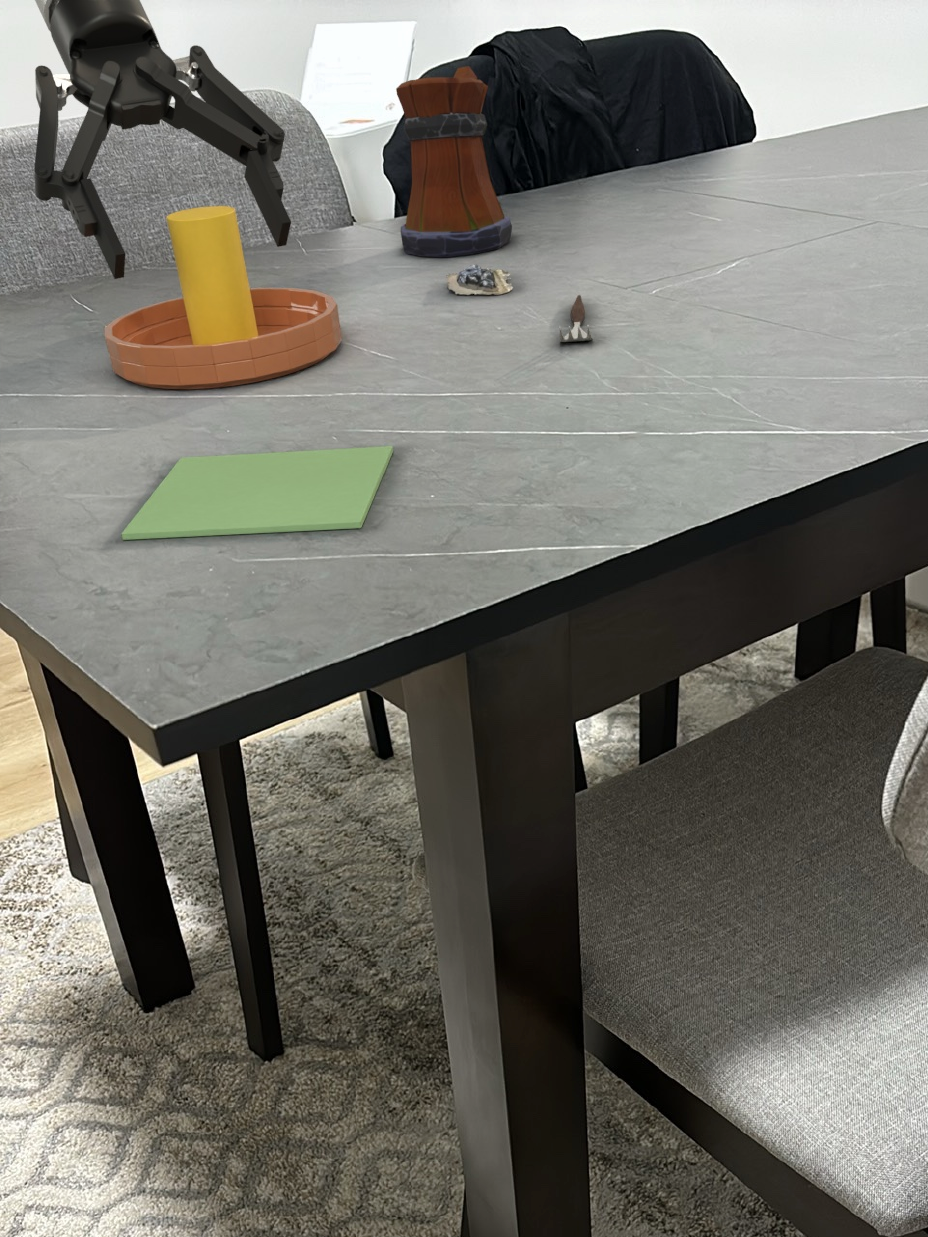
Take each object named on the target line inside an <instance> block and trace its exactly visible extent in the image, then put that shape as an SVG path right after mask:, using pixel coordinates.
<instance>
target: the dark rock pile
mask: <svg viewBox="0 0 928 1237" xmlns="http://www.w3.org/2000/svg"><path fill="white" fill-rule="evenodd" d="M510 275H511V273H509V271H505V270H503V269H491V268H488V267H486V268H482V267H481V266H480V265H478V264H477V263H476V264H470V265H469V266H466V267H464V268H463V269H462V270H461V271H459V272H458V273H457V272H455V273H452V274H451V273H448V275H447V274H446V275H445V277H446V279H445V281H446V282H447V283H446V285H447V288H448V289H449V290H451V291H452V292H454V294H455V295H467V296H470V295H473V294H474V295H486V296H487V295H488V296H489V295H493V296H499V295H503V294H506V293H509V292H511V291H512V290H513V289H514V287H513V286H512V283H511V282H509V283H508V282H507V281H508V280H510V279H512V277H509V276H510Z"/></svg>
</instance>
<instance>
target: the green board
mask: <svg viewBox="0 0 928 1237" xmlns="http://www.w3.org/2000/svg"><path fill="white" fill-rule="evenodd" d="M393 453H394V448H393V446H392V445H386V446H367V447H350V448H335V449H334V448H331V449H314V450H295V451H294V450H293V451H278V452H259V453H257V452H256V453H242V454H241V453H240V454H224V455H206V456H205V455H204V456H187V457H186V456H185V457H180V458H179V460H177V462H176V463H175V465H174V466H173V467H172V468H171V469H170V471H169V472H168V473H167V475H166V476H165V478H163V480H162V481H161V482H160V484H159V485H158V486H157V487H156V488H155V490H154V491H153V492H152V494H151V495H150V496H149V498H148V499H147V500H146V501H145V503H143V505H142V506H141V507H140V509H139V511H137V513H136V514H135V515H134V517H133V518H132V519H131V521H130V522H129V523H128V525H126V527H125V528H124V530H123V531H122V532H121V538H122V540H123V541H131V540H151V539H153V540H154V539H170V538H190V537H192V538H193V537H210V536H213V537H214V536H228V535H251V534H252V535H253V534H271V533H273V534H274V533H292V532H311V531H312V532H314V531H329V530H331V531H332V530H353V529H354V530H355V529H362V527H363V524H364V522H365V520H366V518H367V516H368V513H369V510H370V507H371V505H372V503H373V502H374V499H375V497H376V494H377V492H378V490H379V486H380V484H381V482H382V480H383V478H384V475H385V472H386V470H387V467H388V465H389V463H390V460H391V458H392V455H393Z"/></svg>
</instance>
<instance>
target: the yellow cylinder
mask: <svg viewBox="0 0 928 1237" xmlns="http://www.w3.org/2000/svg"><path fill="white" fill-rule="evenodd" d="M166 223H167V227H168V233H169V237H170V242H171V246H172V247H171V248H172V252H173V256H174V262H175V266H176V270H177V275H178V280H179V284H180V289H181V293H182V297H183V299H184V304H185V308H186V313H187V318H188V322H189V327H190V332H191V336H192V341H193V345H199V344H213V343H220V342H227V341H234V340H241V339H248V338H252V337H257V336H258V331H257V326H256V320H255V315H254V310H253V304H252V299H251V293H250V283H249V277H248V272H247V266H246V262H245V255H244V251H243V245H242V239H241V234H240V228H239V224H238V217H237V212H236V208H234V207H232V206H226V205H211V206H201V207H200V206H199V207H192V208H187V209H182V210H178V211H174V212H172V213H169V214H168V215H167V216H166Z"/></svg>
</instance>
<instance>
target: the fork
mask: <svg viewBox="0 0 928 1237" xmlns="http://www.w3.org/2000/svg"><path fill="white" fill-rule="evenodd" d="M570 316H571V320H572V323H573V327H572V329H571V326H570V325H568V332H567V333H566V334H565V335H564V334H563V331H562V328H561V326H559V327H558V329H559V330H558V331H559V333H558V334H559V335H558V336H559V337H558V338H559V340H558V341H559V343H572V342H585V341H586V342H587V341H593V340H594V337H593V336H592V332H591V329H590V324H587V328H586V329H587V331H584V330H583V328H582V327H581V325H582V322H583V320H584V318H585V317H586V309H585V306H584V303H583V300H582V295H581V294H578V295H577V296H576V298H575V300H574V302H573V305H572V307H571V309H570Z"/></svg>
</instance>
